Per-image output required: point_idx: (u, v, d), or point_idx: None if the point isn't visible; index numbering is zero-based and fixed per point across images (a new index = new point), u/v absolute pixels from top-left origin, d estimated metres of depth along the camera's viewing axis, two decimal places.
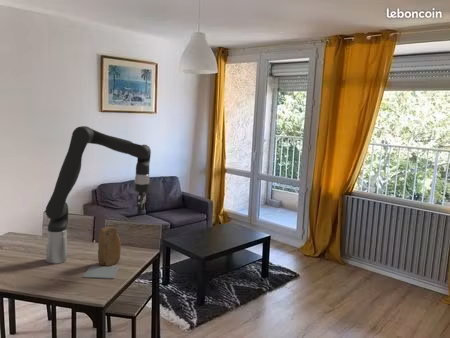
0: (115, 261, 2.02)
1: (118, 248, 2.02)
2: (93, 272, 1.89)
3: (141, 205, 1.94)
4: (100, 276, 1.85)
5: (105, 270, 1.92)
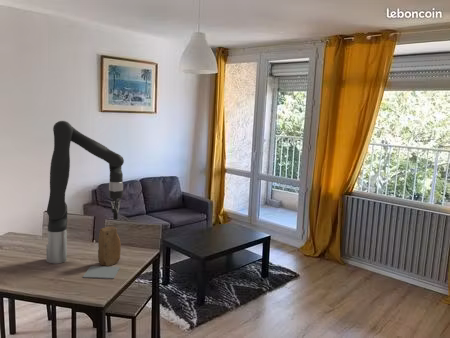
0: (115, 261, 2.02)
1: (118, 248, 2.02)
2: (93, 272, 1.89)
3: (116, 211, 2.09)
4: (100, 276, 1.85)
5: (105, 270, 1.92)
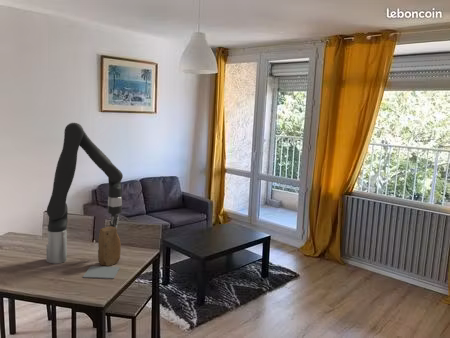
0: (115, 261, 2.02)
1: (118, 248, 2.02)
2: (93, 272, 1.89)
3: (115, 226, 2.08)
4: (100, 276, 1.85)
5: (105, 270, 1.92)
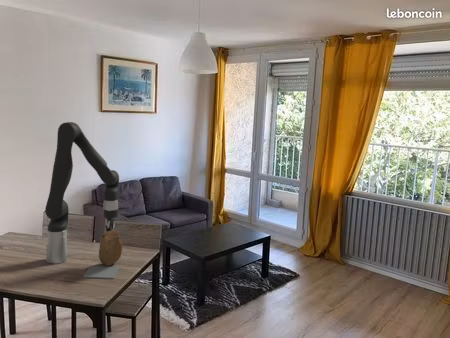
0: (115, 261, 2.01)
1: (119, 251, 1.98)
2: (93, 272, 1.89)
3: None
4: (100, 276, 1.85)
5: (105, 270, 1.92)
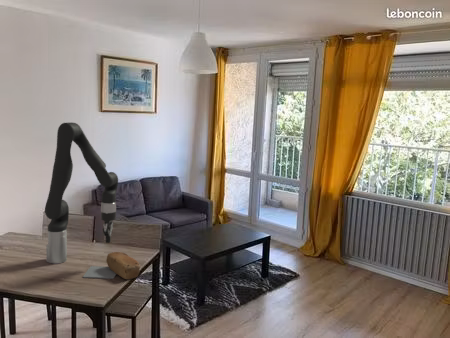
0: None
1: None
2: (93, 272, 1.89)
3: (109, 234, 1.94)
4: (100, 276, 1.85)
5: (105, 270, 1.92)
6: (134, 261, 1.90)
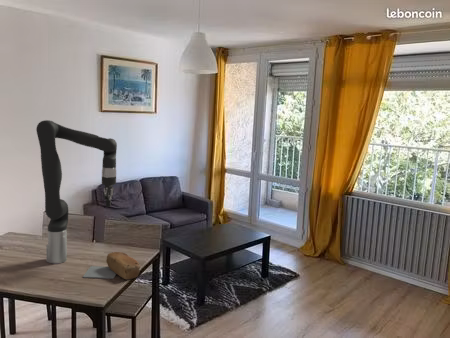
0: None
1: None
2: (93, 272, 1.89)
3: (109, 198, 2.02)
4: (100, 276, 1.85)
5: (105, 270, 1.92)
6: (134, 261, 1.90)
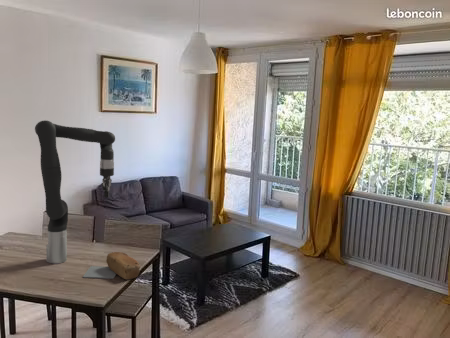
0: None
1: None
2: (93, 272, 1.89)
3: (107, 189, 2.10)
4: (100, 276, 1.85)
5: (105, 270, 1.92)
6: (134, 261, 1.90)
